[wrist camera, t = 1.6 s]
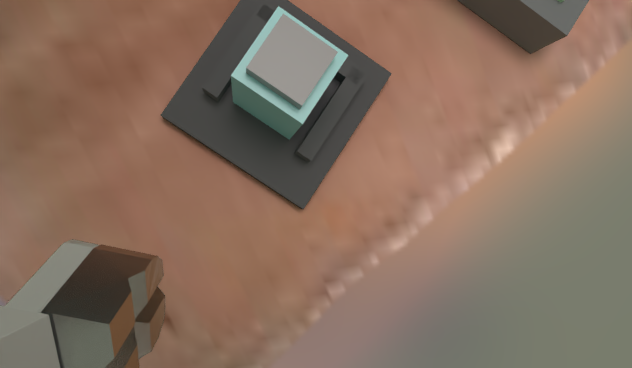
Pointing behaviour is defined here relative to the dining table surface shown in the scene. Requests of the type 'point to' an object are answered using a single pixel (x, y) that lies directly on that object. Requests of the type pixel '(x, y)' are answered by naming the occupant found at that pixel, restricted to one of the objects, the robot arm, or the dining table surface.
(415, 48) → the dining table surface
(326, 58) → the plug
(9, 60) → the dining table surface
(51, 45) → the dining table surface
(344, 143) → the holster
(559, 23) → the port
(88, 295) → the robot arm
